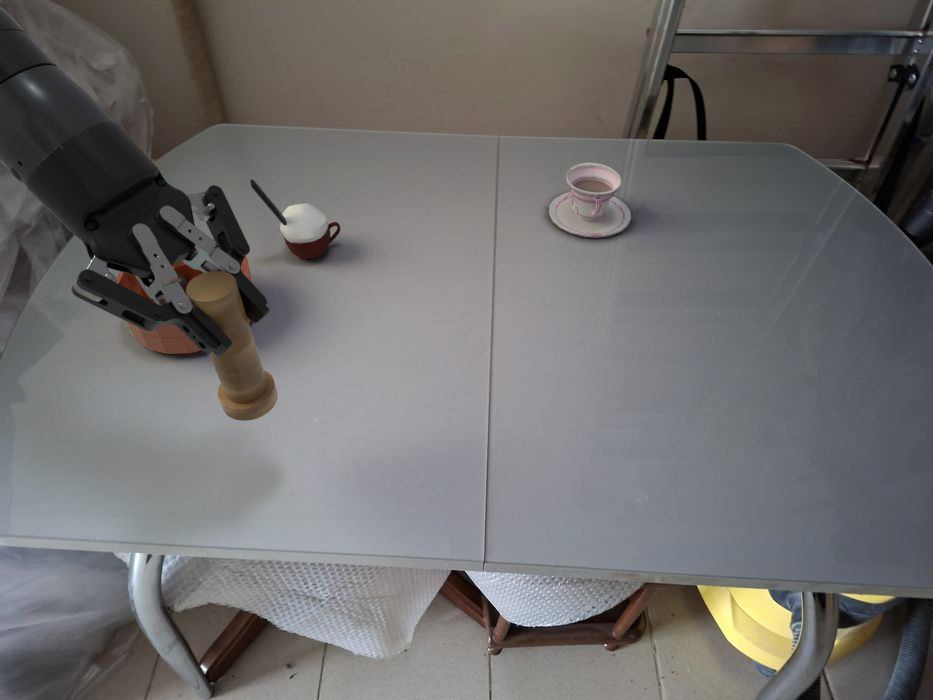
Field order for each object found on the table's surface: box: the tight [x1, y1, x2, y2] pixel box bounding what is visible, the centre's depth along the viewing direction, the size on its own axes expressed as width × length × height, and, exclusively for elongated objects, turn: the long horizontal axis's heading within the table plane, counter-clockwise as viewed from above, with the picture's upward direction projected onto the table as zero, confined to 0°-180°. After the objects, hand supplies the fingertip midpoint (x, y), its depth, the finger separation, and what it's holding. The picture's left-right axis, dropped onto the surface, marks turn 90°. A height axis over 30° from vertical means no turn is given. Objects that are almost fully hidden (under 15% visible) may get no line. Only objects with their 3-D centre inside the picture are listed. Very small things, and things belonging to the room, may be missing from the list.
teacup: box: [548, 162, 632, 239], centre depth 95 cm, size 12×12×6 cm
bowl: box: [116, 238, 256, 355], centre depth 79 cm, size 15×15×6 cm
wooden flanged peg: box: [186, 271, 279, 422], centre depth 53 cm, size 5×5×13 cm
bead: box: [177, 274, 191, 295], centre depth 81 cm, size 3×3×3 cm
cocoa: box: [249, 179, 341, 260], centre depth 86 cm, size 10×6×12 cm, turn 89°
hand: (244, 332), depth 51 cm, fingers closed on wooden flanged peg, 3 cm apart
